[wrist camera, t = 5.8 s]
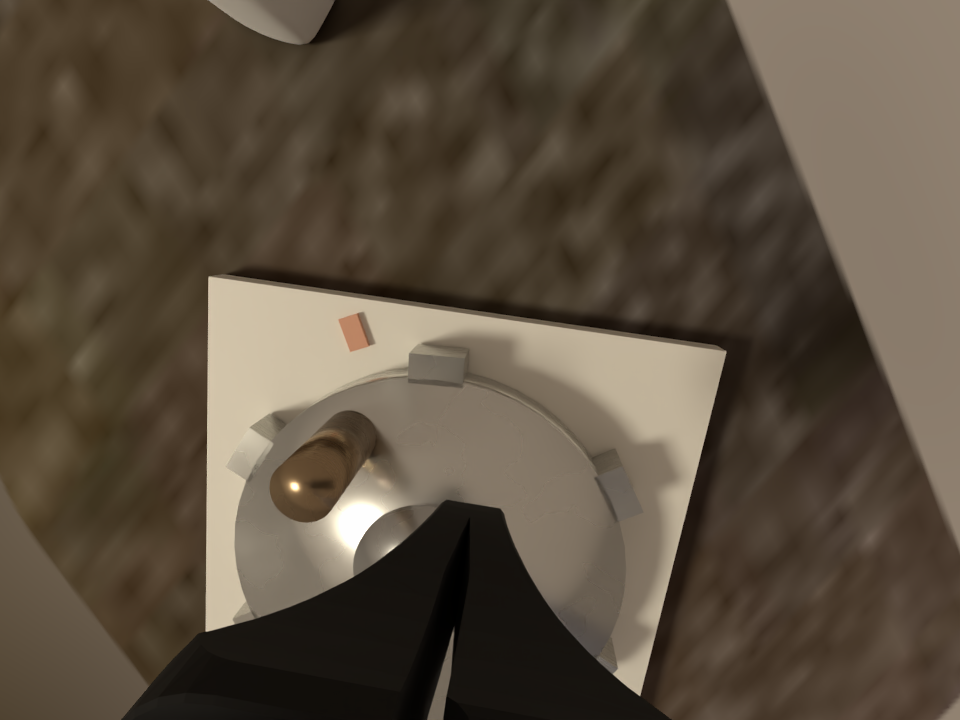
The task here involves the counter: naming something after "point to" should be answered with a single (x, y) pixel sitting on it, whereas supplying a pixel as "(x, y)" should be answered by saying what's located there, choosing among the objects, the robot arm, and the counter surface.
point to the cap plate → (492, 354)
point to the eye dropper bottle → (279, 17)
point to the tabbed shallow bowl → (430, 492)
